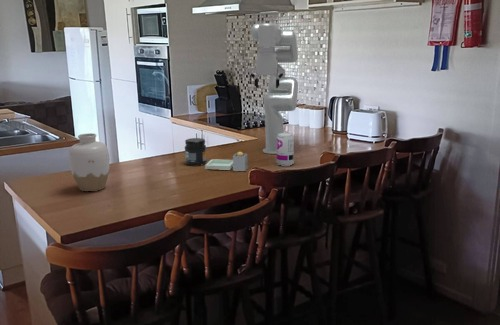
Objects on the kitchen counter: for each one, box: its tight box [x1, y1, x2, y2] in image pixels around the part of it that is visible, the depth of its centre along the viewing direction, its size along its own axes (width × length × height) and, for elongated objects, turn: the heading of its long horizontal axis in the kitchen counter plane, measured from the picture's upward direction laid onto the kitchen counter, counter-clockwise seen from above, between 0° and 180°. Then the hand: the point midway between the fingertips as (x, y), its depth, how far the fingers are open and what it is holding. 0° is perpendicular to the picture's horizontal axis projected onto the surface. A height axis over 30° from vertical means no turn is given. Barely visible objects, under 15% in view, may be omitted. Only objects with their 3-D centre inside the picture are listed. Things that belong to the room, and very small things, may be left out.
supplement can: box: [276, 132, 295, 167], centre depth 233 cm, size 8×8×15 cm
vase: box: [68, 133, 111, 192], centre depth 200 cm, size 16×16×23 cm
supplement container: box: [184, 137, 208, 166], centre depth 239 cm, size 10×10×12 cm
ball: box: [237, 151, 244, 156], centre depth 225 cm, size 3×3×3 cm
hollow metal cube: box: [232, 152, 248, 172], centre depth 225 cm, size 6×6×8 cm
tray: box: [204, 158, 233, 170], centre depth 232 cm, size 12×12×2 cm
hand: (267, 87), depth 231 cm, fingers open, 9 cm apart
